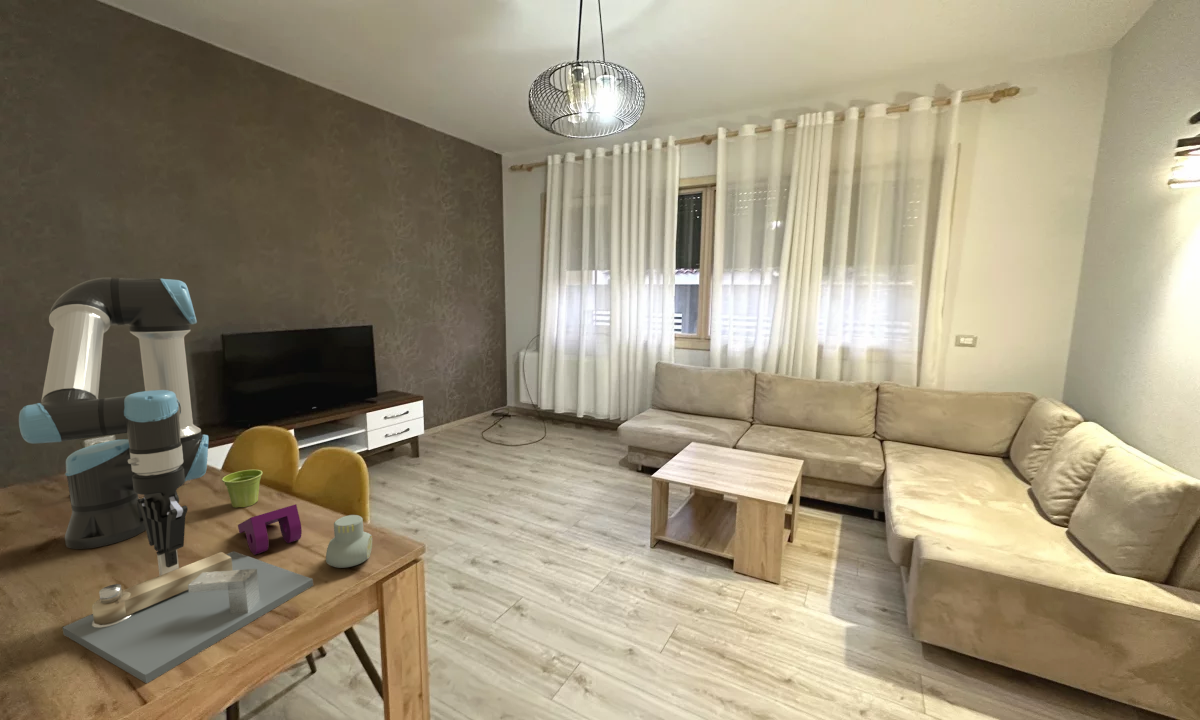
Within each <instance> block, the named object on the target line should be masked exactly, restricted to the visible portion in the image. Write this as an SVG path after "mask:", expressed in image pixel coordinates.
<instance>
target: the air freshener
mask: <svg viewBox="0 0 1200 720" xmlns="http://www.w3.org/2000/svg"><path fill="white" fill-rule="evenodd" d="M363 519H364V518H363V517H362V516H360V515H358V514H349V515H345V516H342V517H340V518H338V519H336V520H335V522H334V523H333V532H334V533H333V535H334V537H333V538H331V539H330V541H329V543H328V545H327V547H326V552H325V562H326V564H328V565H329V566H331V567H333V568H340V569H341V568H342V569H345V568H351V567H355V566H358V565H360V564H362V563H364V562H365V561H367V560H368V559H369V558H370V557H371V553H372V548H373V535H372V534H371V533H369V532H368V531H367V532H366V531H364V520H363Z"/></svg>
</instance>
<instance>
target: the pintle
mask: <svg viewBox="0 0 1200 720" xmlns="http://www.w3.org/2000/svg"><path fill="white" fill-rule="evenodd" d="M98 593H99V599H100V602H101V603H103V604H105V603H110V602H113V601H116V600H118V599H120V598H121V597H122V585H121V584H120V583H114V584H110V585H107V586H105V587H102V588H101V589H100V590H99V592H98ZM134 613H135V612H134ZM134 613H132V614H130V615H127V616H125V617H124V618H122V619H119V620H117V621H114V622H111V623H107V624H95V623H94V621H93V622H92V626H93V627H94V628H105V627H109V626H113V625H116V624H118V623H121V622H123V621H125V620H126V619H128V618H130V617H131V616H132V615H133V614H134Z"/></svg>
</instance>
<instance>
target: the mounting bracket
mask: <svg viewBox="0 0 1200 720" xmlns="http://www.w3.org/2000/svg"><path fill="white" fill-rule="evenodd" d="M275 523H278V526H279V529H280V533H281V537H282V538H283V540H284V541H285V542H286V543H287V544H290V543H293V542H295V541H299V540H300V539H301V538H302V534H303V533H302V532H303V531H302V523H301V518H300V515H299V510H298V507H297V504H296V503H295V504H291V505H289V506H285V507H282V508H278V509H276V510H275V509H274V510H272V511H268V512H265V513H260V514H258V515H255V516H251V517H249V518H248V519H245V520H244V521H243V522H240V523H239V524H238V525H237V528H238V533H239V534H244V533H245V536H246V542H247V545H248V548H249V550H250V553H252V554H253V556H256V555H258V554H261V553H264V552H266V551H268V550H269V534H268V529H267V526H269V525H272V524H275Z"/></svg>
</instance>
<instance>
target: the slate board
mask: <svg viewBox="0 0 1200 720" xmlns="http://www.w3.org/2000/svg"><path fill="white" fill-rule="evenodd" d="M225 554H226V555H228V556H230V557H231V558H232V569H233V570H246V569H257V576H258V587H259V598H260V600H259V601H258V602H257V603H256V604H255V605H254V606H253V608H252V609H251V610H250V611H249V612H248V613H239V614H230V604H229V594H228V590H217V591H204V592H191V593H189V590H186V591H183V592H181V593H179V594H176V595H174V596H172V597H169V598H167V599H165V600H162V601H160V602H158V603H155V604H153V605H151V606H148V607H146V608H144V609H141V610H139V611H137V612H135V613H134V614H133V615H132V616H131V617H130V618H128V619H126V620H125V621H123V622H121V623H118V624H116V625H113V626H109V627H105V628H94V627H93V626H92V622H93V621H94V617H93V613H91V614H90V615H87V616H85V617H82V618H80V619H78V620H76V621H74V622H71V623H69V624H66V625H65V626H62V632H63V636H65V637H66V638H68V637H69V638H68V639H70V640H71V641H73V642H75V643H77V644H79V645H80V646H82V647H83V648H85V649H86V650H89V651H91V652H92V653H94V654H95V655H98V656H99V657H101V658H102V659H104V660H106V661H107V662H109V663H111V664H113V665H114V666H116V667H118V669H119V668H120V669H122V671H124V672H126V673H128V674H130V675H131V676H133V677H134V678H136V679H138V680H140V681H141V682H143V683H145V684H149V682H151V681H154V680H155V679H157V678H159V677H161V676H162V675H163V674H166V673H167V672H168V671H170V670H172V669H174V668H176V667H177V666H179V665H181V664H182V663H184V662H186V661H188V660H189V659H190V658H193V657H194V656H196V655H198V654H199V653H201V652H202V651H204V650H206V649H208V648H210V647H211V646H213V645H214V644H216V643H218V642H220V641H222V640H223V639H225V638H227V637H228V636H230V635H232V634H233V633H235V632H236V631H238V630H240V629H242V628H243V627H245V626H247V625H249V624H251V623H252V622H253V621H255V620H258V619H259V618H260V617H262V616H265V615H266V614H267V613H269V612H270V611H273V610H274V609H276V608H277V607H279V606H281V605H282V604H284V603H286V602H287V601H289V600H291V599H293V598H295V597H297V596H298V595H299V594H301V593H303V592H305V591H306V590H308V589H310V588H311V587H314V580H313V578H312V577H309V576H306V575H303V574H300V573H297V572H294V571H292V570H288V569H285V568H283V567H279V566H277V565H274V564H272V563H269V562H266V561H262V560H260V559H257V558H254V557H251V556H249V555H246V554H243V553H239V552H237V551H234V550H233V551H231V552H228V553H225Z"/></svg>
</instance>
